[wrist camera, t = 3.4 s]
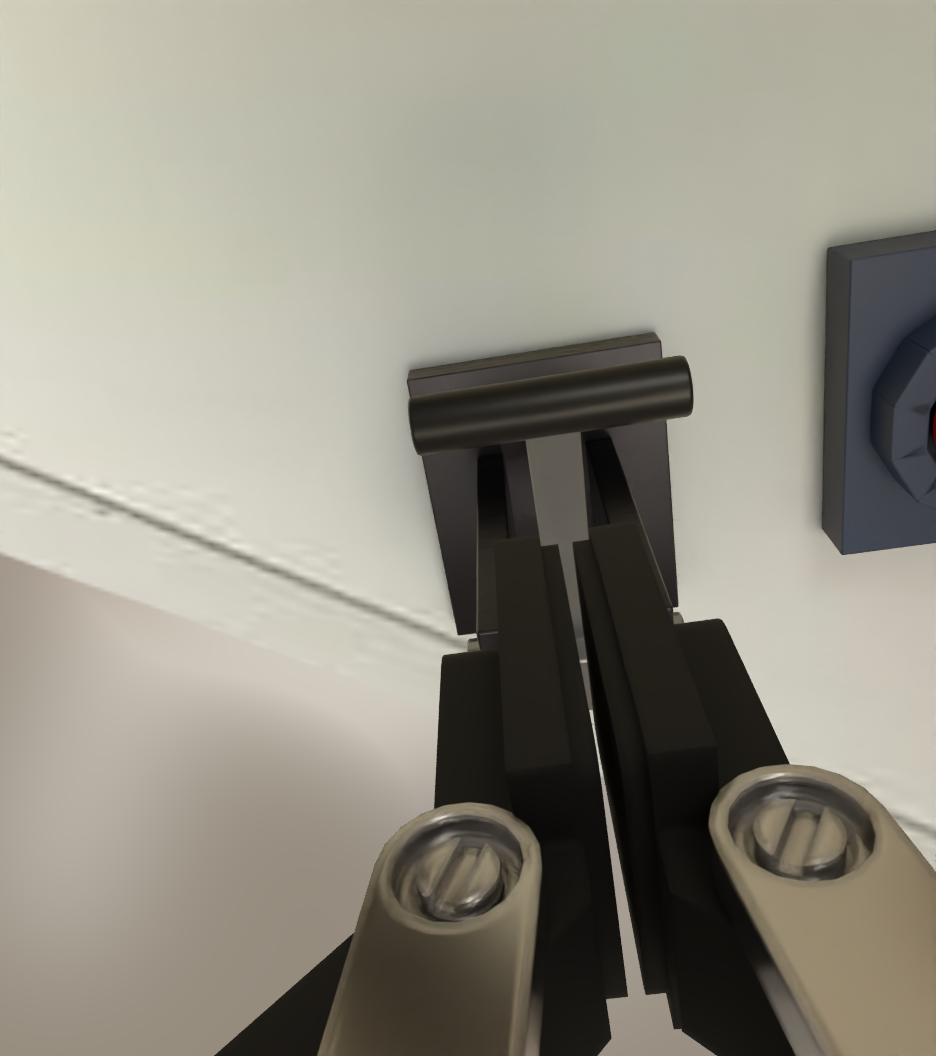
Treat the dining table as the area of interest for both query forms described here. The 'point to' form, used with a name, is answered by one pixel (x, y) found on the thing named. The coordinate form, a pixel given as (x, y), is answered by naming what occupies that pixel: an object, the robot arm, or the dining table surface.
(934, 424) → the button
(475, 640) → the lever bracket
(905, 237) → the button housing
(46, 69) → the dining table surface
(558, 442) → the lever
